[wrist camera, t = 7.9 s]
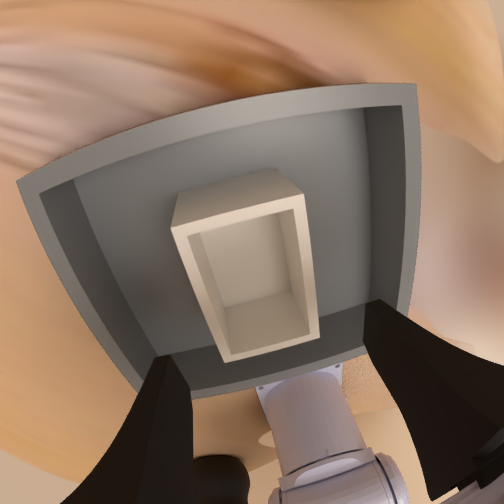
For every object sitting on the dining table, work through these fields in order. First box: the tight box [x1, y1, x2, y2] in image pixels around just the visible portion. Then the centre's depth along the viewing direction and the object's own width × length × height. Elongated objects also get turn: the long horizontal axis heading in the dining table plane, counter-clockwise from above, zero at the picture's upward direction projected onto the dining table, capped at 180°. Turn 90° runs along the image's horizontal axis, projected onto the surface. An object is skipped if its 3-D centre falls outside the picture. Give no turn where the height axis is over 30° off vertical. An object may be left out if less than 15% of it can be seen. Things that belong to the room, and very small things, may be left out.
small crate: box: [170, 167, 320, 363], centre depth 15 cm, size 8×5×4 cm, turn 12°
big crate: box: [16, 83, 421, 400], centre depth 16 cm, size 16×18×4 cm
